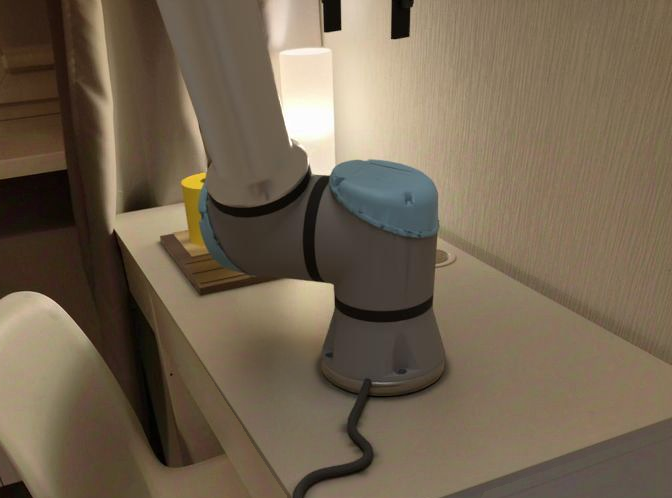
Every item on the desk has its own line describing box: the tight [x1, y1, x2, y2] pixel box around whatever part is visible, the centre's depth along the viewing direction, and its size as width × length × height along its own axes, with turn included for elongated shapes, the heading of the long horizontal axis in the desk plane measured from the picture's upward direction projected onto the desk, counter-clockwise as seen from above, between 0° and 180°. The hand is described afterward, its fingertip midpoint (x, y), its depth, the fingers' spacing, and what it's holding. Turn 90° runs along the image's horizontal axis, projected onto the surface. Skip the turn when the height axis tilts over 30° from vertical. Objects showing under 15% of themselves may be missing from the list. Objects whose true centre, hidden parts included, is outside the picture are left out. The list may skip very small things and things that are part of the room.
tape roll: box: [180, 171, 207, 246], centre depth 124 cm, size 10×10×9 cm
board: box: [159, 229, 281, 296], centre depth 122 cm, size 26×17×1 cm, turn 23°
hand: (365, 35), depth 99 cm, fingers open, 13 cm apart
